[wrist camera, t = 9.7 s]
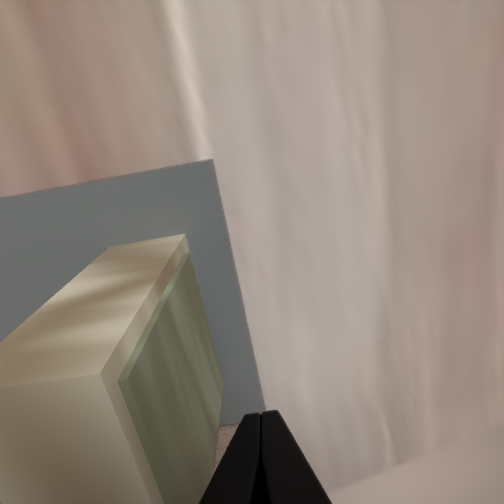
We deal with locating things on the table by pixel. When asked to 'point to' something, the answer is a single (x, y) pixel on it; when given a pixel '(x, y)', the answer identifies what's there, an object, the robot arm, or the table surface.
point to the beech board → (113, 386)
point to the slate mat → (123, 232)
